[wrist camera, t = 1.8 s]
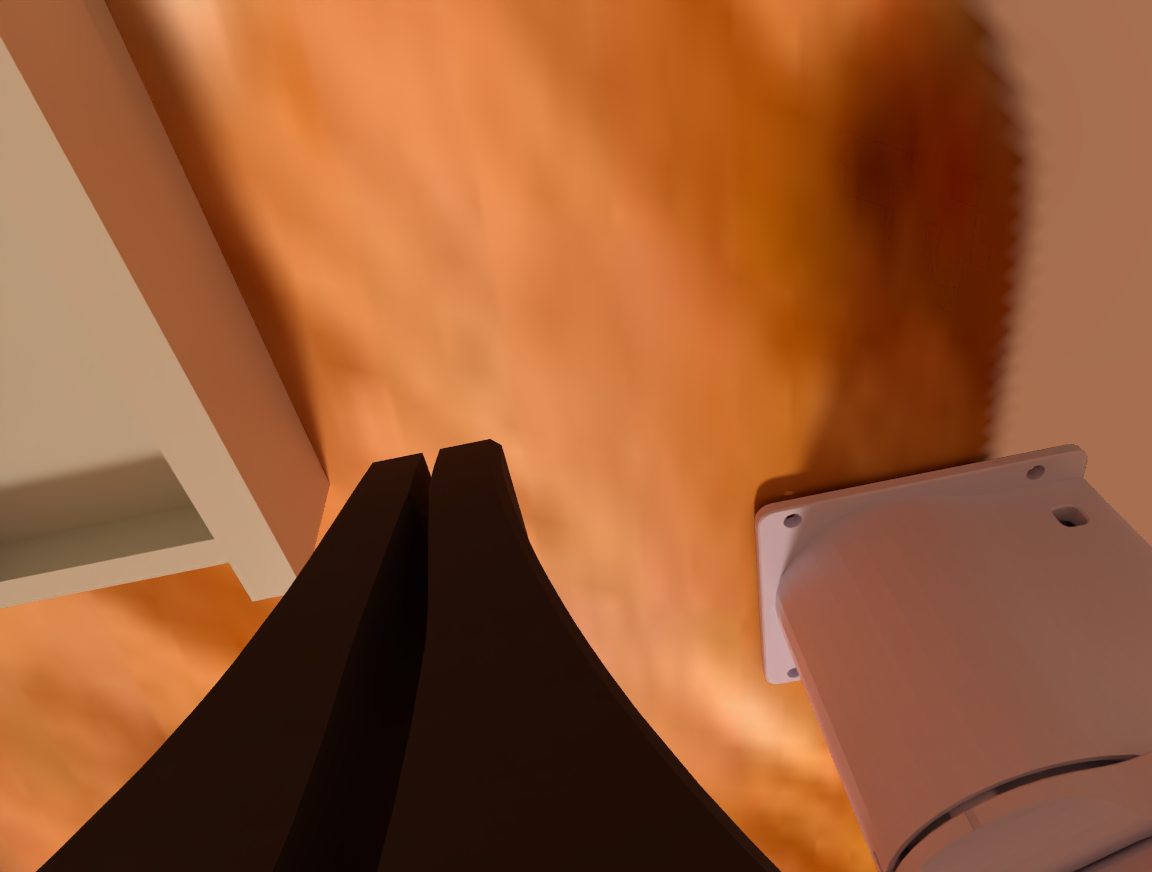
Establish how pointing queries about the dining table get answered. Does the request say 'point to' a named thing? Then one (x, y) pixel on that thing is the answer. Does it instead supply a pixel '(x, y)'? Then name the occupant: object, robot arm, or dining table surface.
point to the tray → (126, 343)
